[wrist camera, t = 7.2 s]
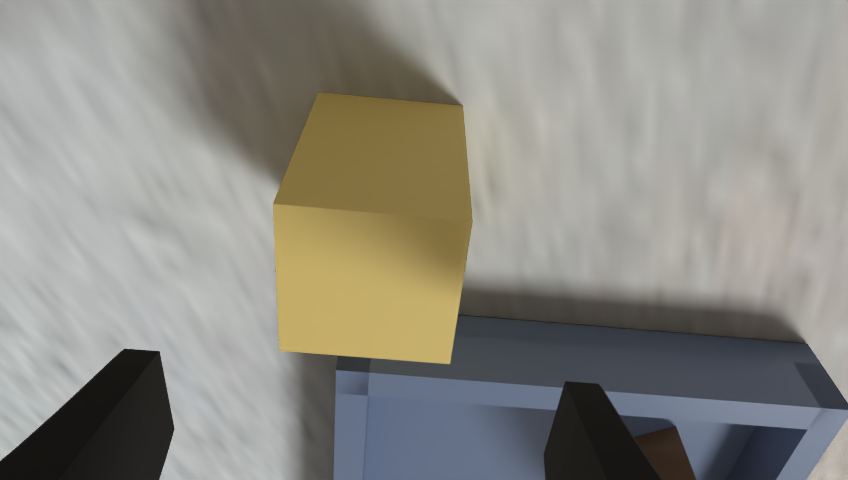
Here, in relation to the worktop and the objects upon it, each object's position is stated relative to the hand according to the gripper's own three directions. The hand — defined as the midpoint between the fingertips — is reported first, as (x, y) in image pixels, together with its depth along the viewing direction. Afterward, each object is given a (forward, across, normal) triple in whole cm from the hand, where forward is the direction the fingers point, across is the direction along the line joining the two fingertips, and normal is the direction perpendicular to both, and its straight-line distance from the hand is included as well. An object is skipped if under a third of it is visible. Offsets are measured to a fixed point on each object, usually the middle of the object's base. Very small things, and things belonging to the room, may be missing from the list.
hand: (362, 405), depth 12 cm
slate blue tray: (+9, -7, +12) cm, 16 cm away
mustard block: (+9, 0, 0) cm, 9 cm away
